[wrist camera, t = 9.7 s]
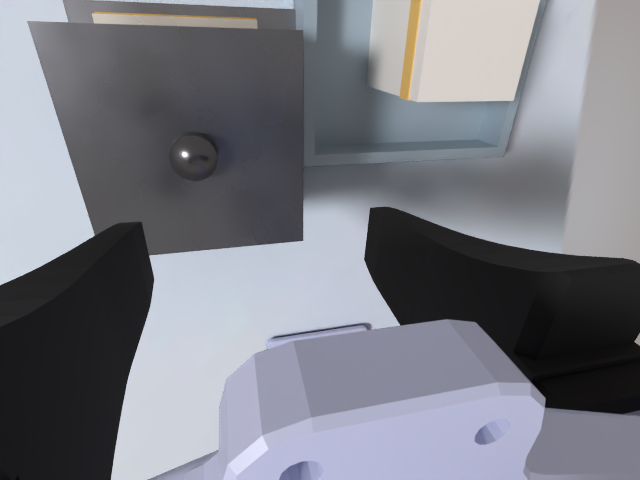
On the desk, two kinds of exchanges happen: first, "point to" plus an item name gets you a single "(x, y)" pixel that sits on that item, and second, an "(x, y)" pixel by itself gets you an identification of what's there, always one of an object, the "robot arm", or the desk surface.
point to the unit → (181, 119)
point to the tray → (384, 100)
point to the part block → (449, 48)
